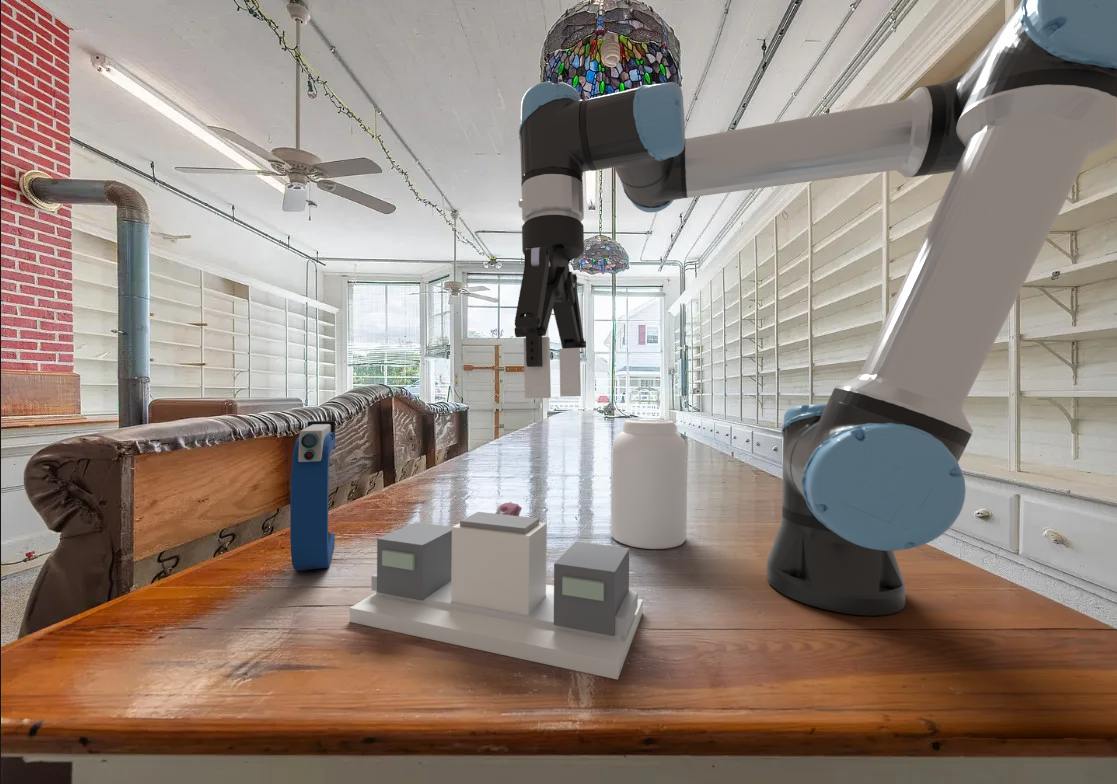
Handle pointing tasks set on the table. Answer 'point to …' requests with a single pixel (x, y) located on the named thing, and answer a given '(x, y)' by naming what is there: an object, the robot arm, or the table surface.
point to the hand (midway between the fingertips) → (556, 397)
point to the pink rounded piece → (509, 509)
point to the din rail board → (542, 636)
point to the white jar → (649, 485)
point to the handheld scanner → (311, 497)
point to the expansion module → (499, 562)
